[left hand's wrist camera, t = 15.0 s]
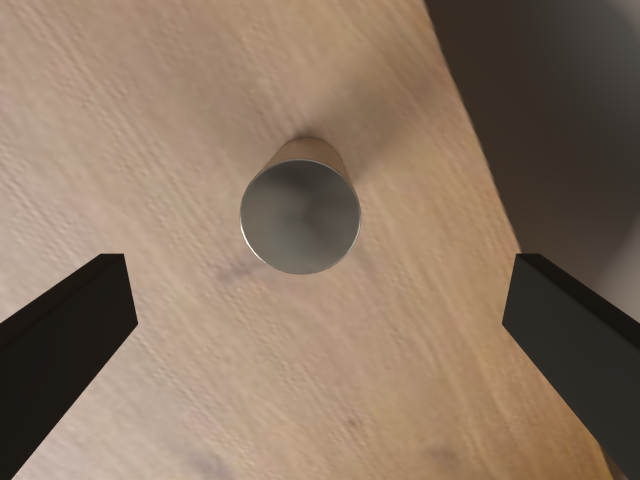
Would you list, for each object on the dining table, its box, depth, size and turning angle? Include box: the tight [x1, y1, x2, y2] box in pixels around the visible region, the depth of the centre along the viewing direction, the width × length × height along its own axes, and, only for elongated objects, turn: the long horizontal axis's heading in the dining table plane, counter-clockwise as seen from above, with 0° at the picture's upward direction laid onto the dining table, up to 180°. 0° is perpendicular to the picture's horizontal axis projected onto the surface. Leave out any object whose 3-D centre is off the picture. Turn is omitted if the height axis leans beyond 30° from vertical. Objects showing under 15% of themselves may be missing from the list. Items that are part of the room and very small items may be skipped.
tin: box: [240, 137, 361, 274], centre depth 22 cm, size 6×6×11 cm
